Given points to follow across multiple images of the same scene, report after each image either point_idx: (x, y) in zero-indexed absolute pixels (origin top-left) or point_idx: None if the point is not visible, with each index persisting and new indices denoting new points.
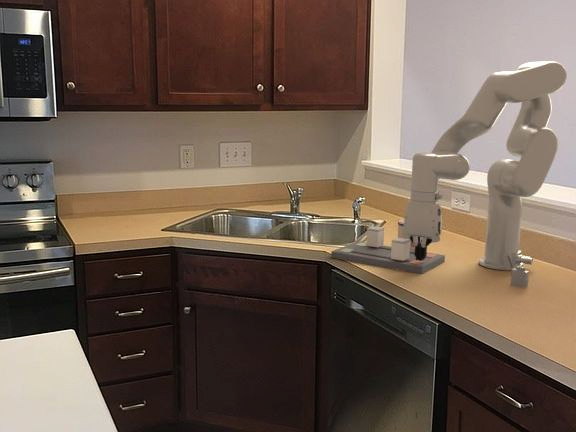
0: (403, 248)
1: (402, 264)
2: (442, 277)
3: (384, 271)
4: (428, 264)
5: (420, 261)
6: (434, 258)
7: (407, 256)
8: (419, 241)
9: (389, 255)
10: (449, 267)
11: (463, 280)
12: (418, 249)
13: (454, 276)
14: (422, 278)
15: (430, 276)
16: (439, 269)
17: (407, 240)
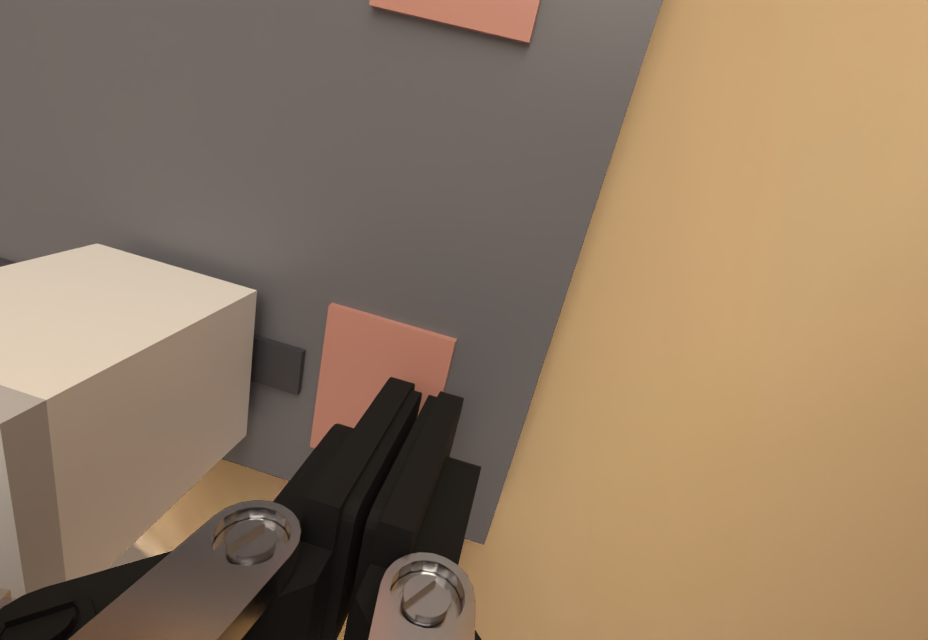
0: (124, 538)
1: (271, 467)
2: (694, 544)
3: (193, 493)
4: (528, 406)
5: (418, 358)
6: (577, 57)
7: (234, 354)
8: (250, 610)
9: (6, 172)
10: (801, 108)
11: (917, 591)
12: (343, 621)
13: (830, 487)
14: (517, 601)
15: (577, 538)
16: (657, 267)
17: (7, 519)
